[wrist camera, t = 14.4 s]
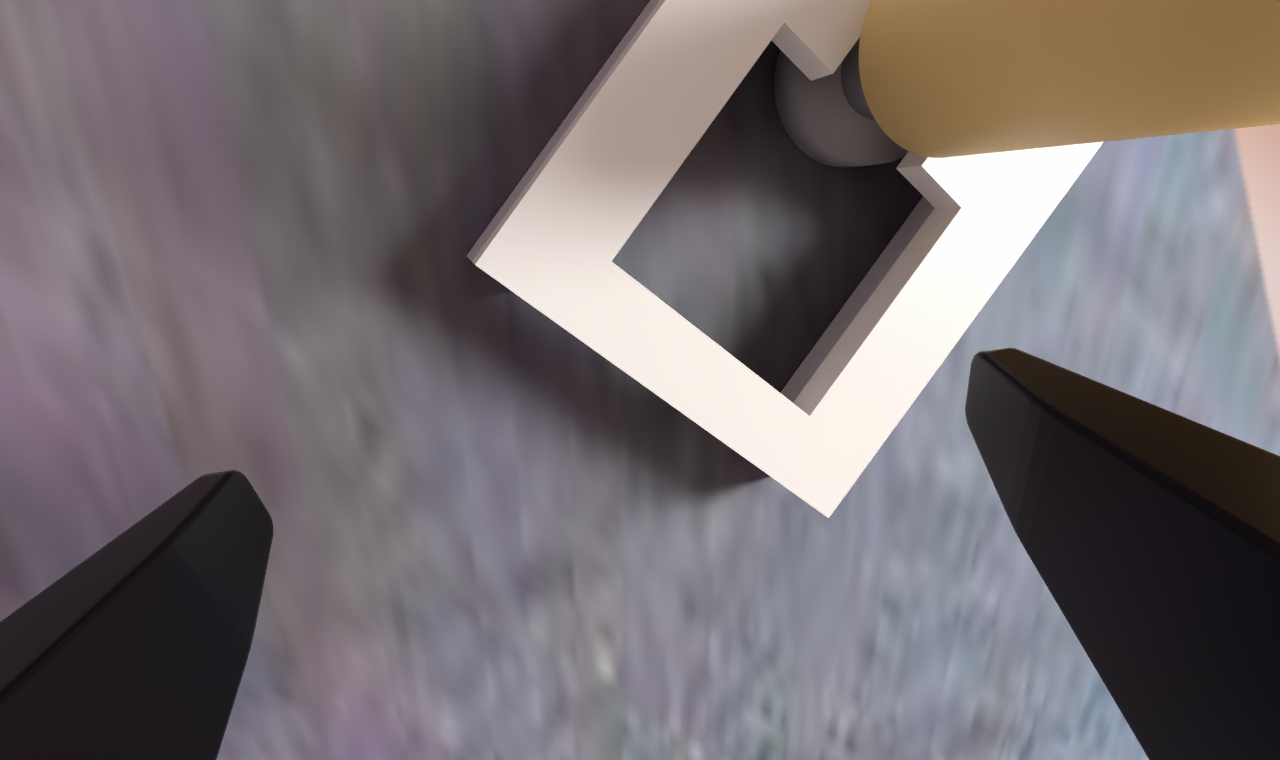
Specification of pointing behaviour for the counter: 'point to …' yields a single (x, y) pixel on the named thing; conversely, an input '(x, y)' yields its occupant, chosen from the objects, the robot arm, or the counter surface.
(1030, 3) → the headed peg
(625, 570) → the counter surface
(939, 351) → the keyhole plate
